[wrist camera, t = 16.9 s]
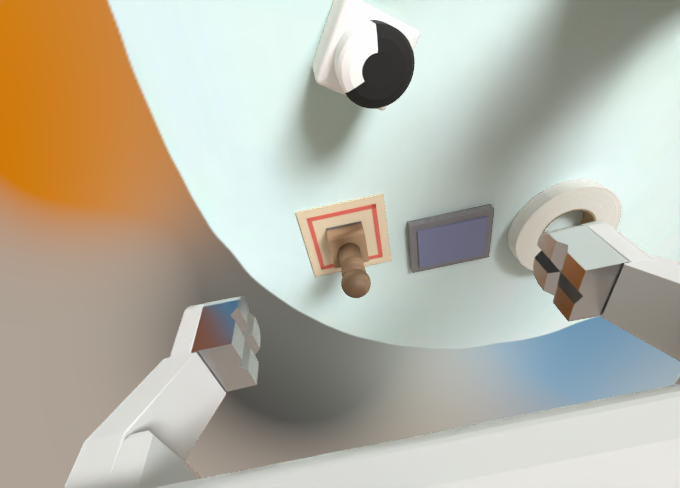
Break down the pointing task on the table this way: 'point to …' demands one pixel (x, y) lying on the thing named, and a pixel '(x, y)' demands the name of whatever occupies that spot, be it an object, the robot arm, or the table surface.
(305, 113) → the table surface
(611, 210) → the roll of tape
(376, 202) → the tan card
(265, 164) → the table surface
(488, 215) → the ink pad
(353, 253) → the walnut stamp
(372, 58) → the medicine bottle
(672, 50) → the table surface
